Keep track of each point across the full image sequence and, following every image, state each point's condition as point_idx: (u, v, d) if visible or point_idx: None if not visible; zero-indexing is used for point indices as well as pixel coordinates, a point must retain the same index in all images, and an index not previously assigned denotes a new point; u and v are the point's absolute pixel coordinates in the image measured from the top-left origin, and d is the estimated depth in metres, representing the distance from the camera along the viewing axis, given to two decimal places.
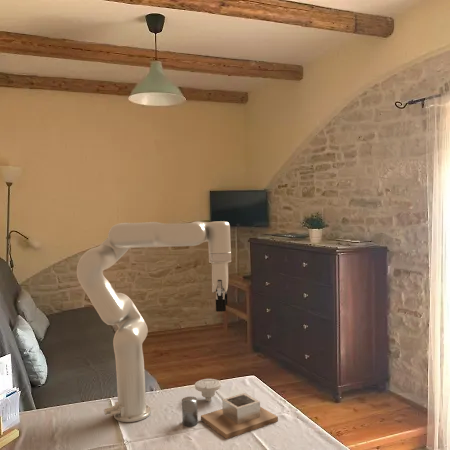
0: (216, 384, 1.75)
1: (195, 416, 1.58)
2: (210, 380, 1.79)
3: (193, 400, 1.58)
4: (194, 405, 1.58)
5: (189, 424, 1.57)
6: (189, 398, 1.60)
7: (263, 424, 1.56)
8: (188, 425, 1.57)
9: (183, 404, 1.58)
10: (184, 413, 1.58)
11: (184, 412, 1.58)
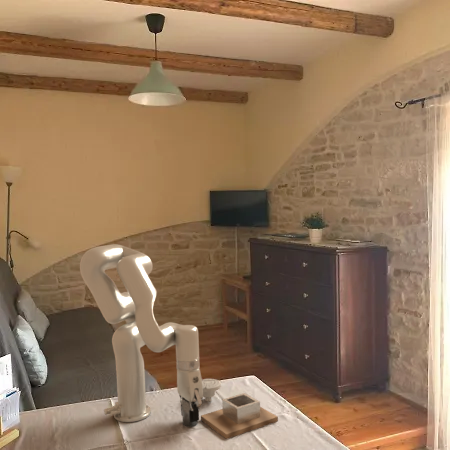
0: (216, 384, 1.75)
1: None
2: (210, 380, 1.79)
3: None
4: None
5: (189, 424, 1.57)
6: None
7: (263, 424, 1.56)
8: (188, 425, 1.57)
9: (183, 404, 1.58)
10: (184, 413, 1.58)
11: (184, 412, 1.58)
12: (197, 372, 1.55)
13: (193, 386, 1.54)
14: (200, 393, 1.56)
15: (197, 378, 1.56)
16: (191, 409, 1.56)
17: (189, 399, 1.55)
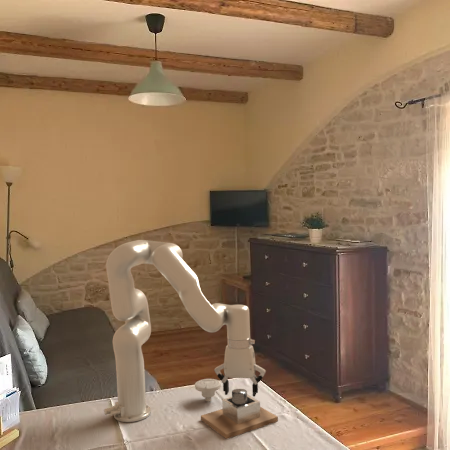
0: (216, 384, 1.75)
1: None
2: (210, 380, 1.79)
3: (244, 391, 1.61)
4: None
5: None
6: (237, 390, 1.61)
7: (263, 424, 1.56)
8: None
9: (239, 397, 1.58)
10: (240, 405, 1.58)
11: (240, 404, 1.58)
12: None
13: (253, 361, 1.58)
14: None
15: (252, 353, 1.60)
16: (255, 383, 1.58)
17: (250, 375, 1.57)
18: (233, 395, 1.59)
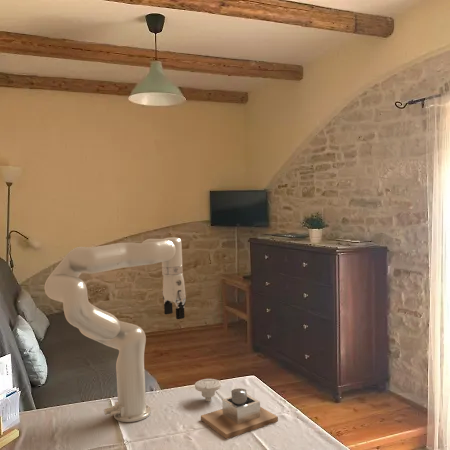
0: (216, 384, 1.75)
1: None
2: (210, 380, 1.79)
3: (244, 390, 1.61)
4: (246, 395, 1.61)
5: None
6: (237, 390, 1.61)
7: (263, 424, 1.56)
8: None
9: (238, 396, 1.58)
10: (240, 405, 1.58)
11: (240, 404, 1.58)
12: (180, 276, 1.77)
13: (176, 288, 1.76)
14: (183, 295, 1.77)
15: (180, 282, 1.77)
16: (177, 307, 1.76)
17: (173, 300, 1.76)
18: (232, 394, 1.59)
